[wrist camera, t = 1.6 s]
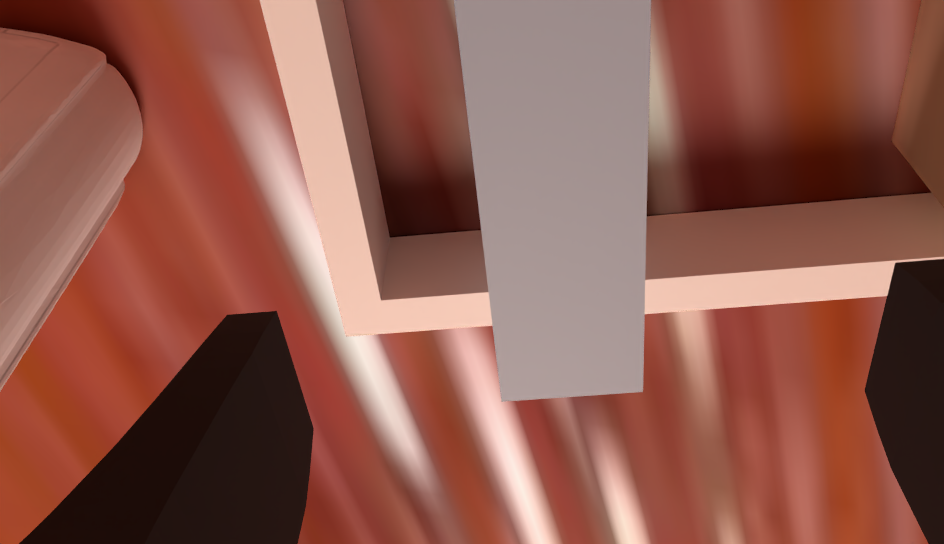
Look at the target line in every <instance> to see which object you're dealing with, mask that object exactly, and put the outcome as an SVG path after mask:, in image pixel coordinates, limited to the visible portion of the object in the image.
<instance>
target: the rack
mask: <svg viewBox="0 0 944 544" xmlns="http://www.w3.org/2000/svg"><path fill="white" fill-rule="evenodd" d="M260 3H261V7H262V11H263V15H264V19H265V23H266V26H267V30H268V34H269V38H270V42H271V46H272V50H273V54H274V58H275V61H276V65H277V69H278V73H279V77H280V81H281V85H282V89H283V93H284V96H285V100H286V104H287V108H288V112H289V116H290V120H291V124H292V128H293V132H294V135H295V139H296V143H297V147H298V151H299V155H300V159H301V163H302V167H303V170H304V174H305V178H306V182H307V186H308V190H309V194H310V198H311V202H312V205H313V209H314V213H315V217H316V221H317V225H318V229H319V233H320V237H321V240H322V244H323V248H324V252H325V256H326V260H327V264H328V268H329V272H330V276H331V279H332V283H333V287H334V291H335V295H336V299H337V303H338V307H339V311H340V314H341V318H342V322H343V326H344V330H345V334H346V336H359V335H373V334H386V333H399V332H413V331H426V330H439V329H452V328H466V327H479V326H492V317H491V308H490V300H489V291H488V283H487V275H486V266H485V258H484V249H483V241H482V233H481V230H475V231H463V232H451V233H439V234H427V235H415V236H403V237H391V238H390V236H389V231H388V225H387V220H386V215H385V210H384V205H383V200H382V195H381V190H380V185H379V180H378V175H377V170H376V165H375V160H374V155H373V150H372V145H371V140H370V135H369V129H368V124H367V119H366V114H365V109H364V104H363V99H362V94H361V89H360V84H359V79H358V74H357V69H356V64H355V59H354V54H353V49H352V44H351V39H350V33H349V28H348V23H347V18H346V13H345V8H344V3H343V0H260ZM935 259H944V208H943V206H942V205H941V204H940V203H939V201H938V200H937V199H936V197H935V196H934V195H933V194H932V193H922V194H910V195H898V196H886V197H874V198H861V199H849V200H837V201H825V202H813V203H801V204H789V205H777V206H765V207H753V208H741V209H729V210H717V211H704V212H692V213H680V214H668V215H656V216H647V219H646V267H645V314H652V313H665V312H679V311H692V310H705V309H718V308H732V307H745V306H758V305H772V304H785V303H798V302H811V301H825V300H838V299H851V298H865V297H878V296H887V295H888V291H889V287H890V282H891V278H892V274H893V270H894V266H895V263H897V262H909V261H922V260H935Z"/></svg>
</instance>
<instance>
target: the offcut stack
mask: <svg viewBox="0 0 944 544" xmlns="http://www.w3.org/2000/svg"><path fill="white" fill-rule="evenodd" d="M892 142H893V144H894V145H895V146H896V148H897V149H898V150H899V151H900V153H901V154H902V155H903V157H904V158H905V159H906V160H907V162H908V163H909V164H910V165H911V167H912V168H913V169H914V171H915V172H916V173H917V174H918V176H919V177H920V178H921V180H922V181H923V182H924V183H925V185H926V186H927V187H928V188H929V190H930V191H931V192H932V194H933V195H934V196H935V197H936V199H937V200H938V201H939V203H940V204H941V205H942V206H943V208H944V0H921V5H920V9H919V14H918V19H917V24H916V28H915V33H914V38H913V42H912V47H911V52H910V56H909V61H908V66H907V70H906V75H905V80H904V85H903V89H902V94H901V99H900V103H899V108H898V113H897V117H896V122H895V127H894V132H893V136H892Z"/></svg>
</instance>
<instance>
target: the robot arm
mask: <svg viewBox="0 0 944 544" xmlns="http://www.w3.org/2000/svg"><path fill="white" fill-rule="evenodd" d="M865 393H866V396H867V399H868V402H869V405H870V408H871V411H872V415H873V418H874V421H875V424H876V427H877V430H878V433H879V436H880V438H881V441H882V444H883V447H884V450H885V452H886V455H887V458H888V461H889V463H890V466H891V469H892V471H893V473H894V475H895V477H896V479H897V481H898V483H899V485H900V487H901V489H902V491H903V493H904V495H905V497H906V499H907V501H908V503H909V505H910V507H911V509H912V511H913V513H914V515H915V517H916V519H917V521H918V524H919V526H920V528H921V530H922V532H923V533H924V535H925V537H926V539H927V541H928V543H929V544H944V259H935V260H922V261H909V262H897V263H895V266H894V270H893V274H892V278H891V282H890V287H889V291H888V295H887V299H886V303H885V308H884V312H883V316H882V320H881V324H880V328H879V333H878V337H877V341H876V345H875V349H874V354H873V358H872V362H871V366H870V370H869V374H868V379H867V383H866V387H865ZM313 429H314V428H313V425H312V422H311V419H310V416H309V412H308V409H307V406H306V403H305V400H304V397H303V393H302V390H301V387H300V384H299V381H298V377H297V374H296V371H295V368H294V365H293V362H292V358H291V355H290V352H289V349H288V346H287V342H286V339H285V336H284V333H283V330H282V327H281V323H280V320H279V317H278V314H277V311H272V312H259V313H246V314H233V315H227V316H226V317H225V318H224V319H223V320H222V322H221V323H220V324H219V325H218V326H217V327H216V328H215V330H214V331H213V332H212V333H211V334H210V335H209V337H208V338H207V339H206V340H205V341H204V342H203V344H202V345H201V346H200V347H199V348H198V350H197V351H196V352H195V353H194V354H193V355H192V357H191V358H190V359H189V360H188V361H187V363H186V364H185V365H184V366H183V367H182V369H181V370H180V371H179V372H178V373H177V375H176V376H175V377H174V378H173V379H172V380H171V382H170V383H169V384H168V385H167V386H166V388H165V389H164V390H163V391H162V392H161V393H160V395H159V396H158V397H157V398H156V399H155V401H154V402H153V403H152V404H151V405H150V406H149V407H148V409H147V410H146V411H145V412H144V413H143V414H142V415H141V417H140V418H139V419H138V420H137V421H136V422H135V423H134V425H133V426H132V427H131V428H130V429H129V430H128V431H127V433H126V434H125V435H124V436H123V437H122V438H121V439H120V441H119V442H118V443H117V444H116V445H115V446H114V447H113V448H112V450H111V451H110V452H109V453H108V454H107V455H106V456H105V457H104V458H103V459H102V460H101V461H100V462H99V463H98V464H97V465H96V466H95V467H94V468H93V469H92V471H91V472H90V473H89V474H88V475H87V476H86V477H85V478H84V479H83V480H82V481H81V482H80V483H79V484H78V485H77V486H76V487H75V488H74V489H73V490H72V492H71V493H70V494H69V495H68V496H67V497H66V498H65V499H64V500H63V501H62V502H61V503H60V504H59V505H58V506H57V507H56V508H55V509H54V510H53V511H52V512H51V513H50V514H49V515H48V516H47V517H46V518H45V519H44V520H43V521H42V522H41V523H40V524H39V525H38V526H37V527H36V528H35V529H34V530H33V531H32V532H31V533H30V534H29V535H28V536H27V537H26V538H25V539H24V540H23V541H21V542H20V543H19V544H297V543H298V539H299V534H300V530H301V526H302V521H303V516H304V512H305V507H306V500H307V491H308V482H309V473H310V463H311V452H312V440H313Z"/></svg>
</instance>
